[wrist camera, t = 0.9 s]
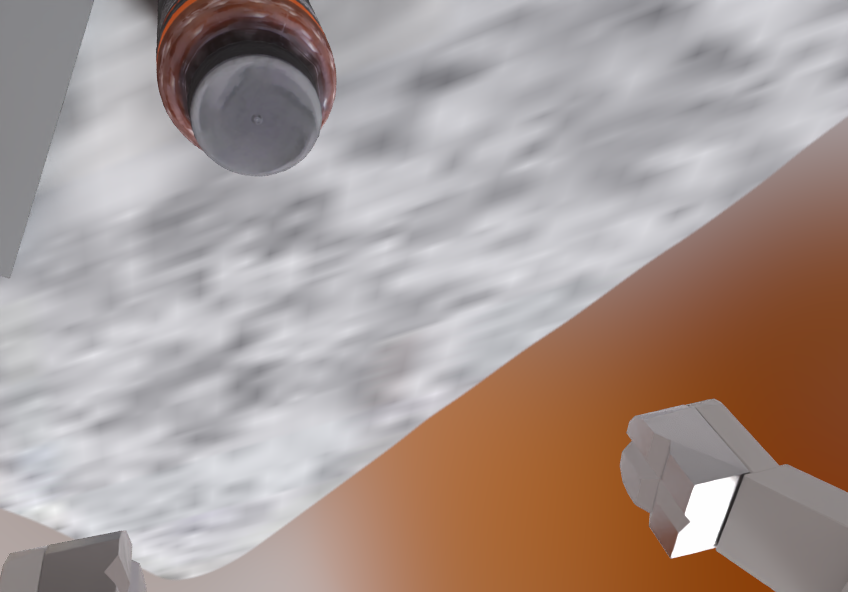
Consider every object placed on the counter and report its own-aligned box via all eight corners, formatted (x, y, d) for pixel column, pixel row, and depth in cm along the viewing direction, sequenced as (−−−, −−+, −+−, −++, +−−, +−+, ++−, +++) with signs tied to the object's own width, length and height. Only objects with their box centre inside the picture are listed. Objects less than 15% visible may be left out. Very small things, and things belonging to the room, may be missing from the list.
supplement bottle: (146, 51, 30) (132, 181, 22) (175, -96, 27) (172, -13, 19) (282, 91, 33) (318, 221, 24) (323, -40, 30) (379, 56, 21)
